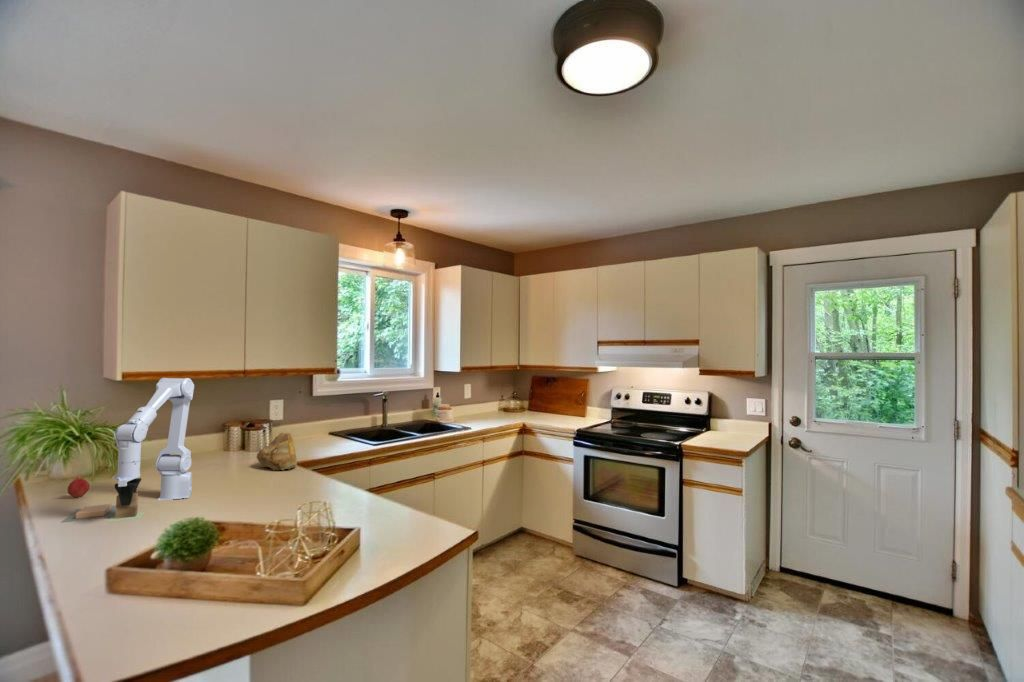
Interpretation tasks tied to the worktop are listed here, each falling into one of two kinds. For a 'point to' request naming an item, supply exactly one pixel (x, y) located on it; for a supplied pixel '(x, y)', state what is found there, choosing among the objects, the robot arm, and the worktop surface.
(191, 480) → the robot arm
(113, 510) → the mat
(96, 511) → the tile
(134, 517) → the rest pad
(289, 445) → the rough brown rock
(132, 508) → the walnut block
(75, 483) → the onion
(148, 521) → the worktop surface
